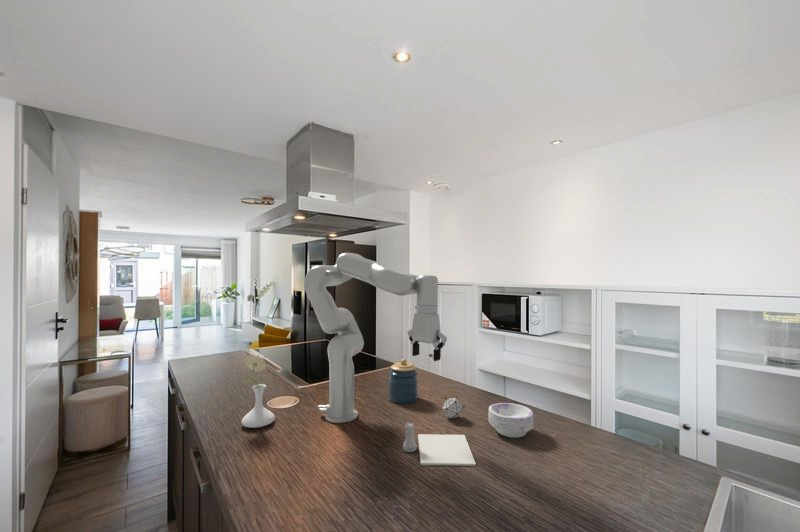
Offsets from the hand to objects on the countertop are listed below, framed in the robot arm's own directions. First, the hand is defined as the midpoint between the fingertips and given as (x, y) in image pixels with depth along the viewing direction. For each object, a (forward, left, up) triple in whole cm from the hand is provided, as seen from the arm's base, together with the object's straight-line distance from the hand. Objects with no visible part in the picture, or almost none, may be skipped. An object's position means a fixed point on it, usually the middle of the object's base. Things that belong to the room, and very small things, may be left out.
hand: (426, 357), depth 123 cm
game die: (+11, +11, -26) cm, 30 cm away
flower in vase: (-62, +4, -26) cm, 67 cm away
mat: (+5, -13, -26) cm, 29 cm away
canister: (-8, +31, -26) cm, 41 cm away
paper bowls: (+30, 0, -26) cm, 40 cm away
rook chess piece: (-6, -13, -26) cm, 30 cm away
